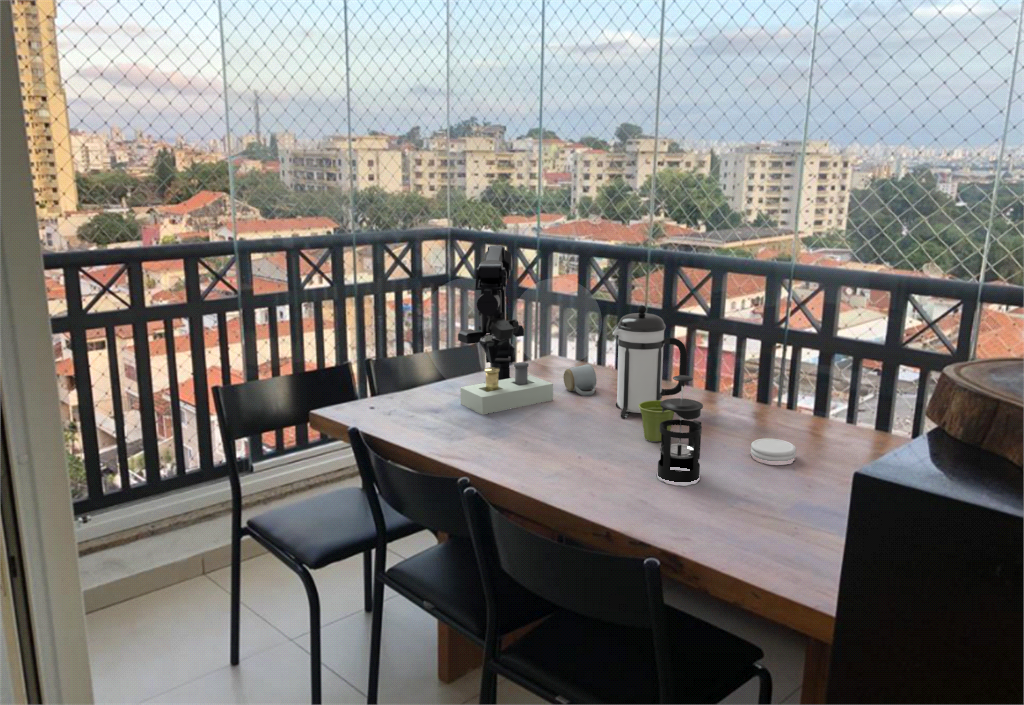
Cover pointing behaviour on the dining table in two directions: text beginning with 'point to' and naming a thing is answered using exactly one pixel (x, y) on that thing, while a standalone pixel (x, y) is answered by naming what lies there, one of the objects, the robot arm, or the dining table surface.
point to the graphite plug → (521, 373)
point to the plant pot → (654, 419)
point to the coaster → (773, 449)
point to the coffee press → (643, 360)
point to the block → (506, 395)
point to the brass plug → (492, 379)
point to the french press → (680, 452)
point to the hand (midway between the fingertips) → (491, 363)
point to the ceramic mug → (580, 379)
